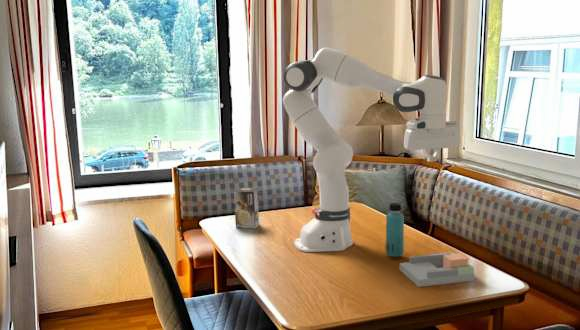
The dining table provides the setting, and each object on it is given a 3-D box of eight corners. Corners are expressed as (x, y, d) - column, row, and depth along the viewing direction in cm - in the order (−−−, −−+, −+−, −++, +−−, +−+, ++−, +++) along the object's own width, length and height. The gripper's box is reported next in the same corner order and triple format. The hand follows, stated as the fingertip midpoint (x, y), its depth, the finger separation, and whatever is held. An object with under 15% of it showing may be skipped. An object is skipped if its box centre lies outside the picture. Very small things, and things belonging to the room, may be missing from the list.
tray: (418, 286, 186) (418, 273, 185) (399, 269, 200) (399, 257, 199) (473, 280, 190) (474, 267, 189) (451, 264, 204) (451, 252, 203)
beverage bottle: (405, 255, 214) (406, 201, 210) (402, 261, 208) (403, 206, 204) (387, 253, 216) (387, 200, 212) (383, 259, 210) (384, 205, 206)
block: (450, 273, 189) (450, 260, 189) (442, 268, 194) (443, 255, 193) (467, 271, 191) (467, 258, 190) (459, 266, 196) (460, 253, 195)
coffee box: (259, 224, 255) (258, 188, 252) (255, 228, 249) (254, 191, 246) (239, 223, 257) (238, 187, 254) (234, 227, 251) (233, 191, 248)
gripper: (455, 119, 211) (454, 157, 214) (402, 122, 207) (401, 161, 210) (464, 121, 205) (463, 160, 208) (409, 124, 201) (409, 164, 204)
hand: (431, 161), depth 209 cm, fingers closed
